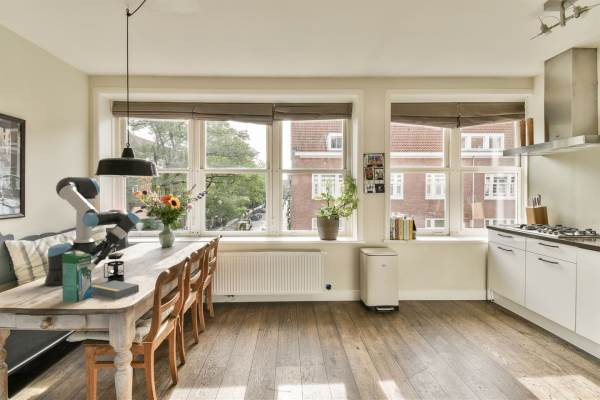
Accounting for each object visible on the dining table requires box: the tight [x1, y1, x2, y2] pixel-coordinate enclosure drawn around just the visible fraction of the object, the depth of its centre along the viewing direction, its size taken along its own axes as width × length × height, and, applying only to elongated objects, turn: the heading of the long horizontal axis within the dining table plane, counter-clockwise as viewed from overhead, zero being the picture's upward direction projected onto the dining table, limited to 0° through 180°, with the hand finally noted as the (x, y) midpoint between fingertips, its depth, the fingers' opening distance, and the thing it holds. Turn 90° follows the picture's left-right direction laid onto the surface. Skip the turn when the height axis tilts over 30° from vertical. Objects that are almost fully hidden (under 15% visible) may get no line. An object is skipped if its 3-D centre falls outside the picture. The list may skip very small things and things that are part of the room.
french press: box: [103, 244, 125, 283], centre depth 205 cm, size 12×9×23 cm
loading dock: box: [91, 280, 140, 300], centre depth 184 cm, size 20×14×4 cm
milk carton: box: [62, 250, 93, 303], centre depth 173 cm, size 9×9×25 cm
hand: (85, 267), depth 175 cm, fingers open, 13 cm apart
